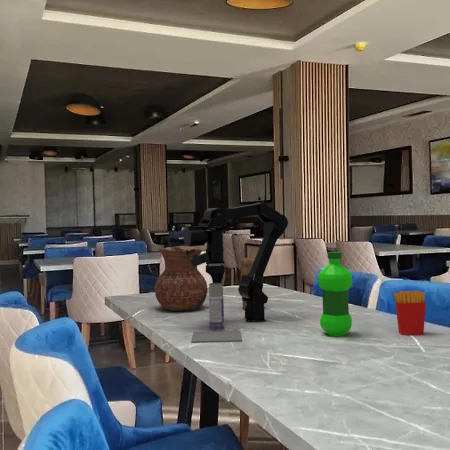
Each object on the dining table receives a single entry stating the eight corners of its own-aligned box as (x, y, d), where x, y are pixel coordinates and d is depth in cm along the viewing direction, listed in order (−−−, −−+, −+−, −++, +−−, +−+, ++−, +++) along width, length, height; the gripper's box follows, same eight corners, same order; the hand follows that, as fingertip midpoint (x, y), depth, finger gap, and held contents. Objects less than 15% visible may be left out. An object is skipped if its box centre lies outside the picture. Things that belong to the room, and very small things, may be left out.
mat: (240, 331, 167) (240, 330, 167) (242, 341, 154) (242, 339, 154) (193, 332, 167) (193, 331, 167) (191, 342, 154) (191, 341, 154)
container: (216, 327, 175) (215, 282, 174) (227, 329, 172) (225, 283, 171) (206, 330, 171) (205, 284, 171) (217, 331, 168) (216, 284, 168)
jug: (215, 310, 206) (213, 246, 205) (163, 315, 198) (161, 249, 198) (197, 302, 226) (195, 244, 226) (149, 306, 219) (147, 246, 218)
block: (262, 310, 204) (261, 258, 204) (243, 310, 204) (241, 259, 203) (259, 305, 215) (257, 256, 215) (240, 306, 215) (239, 257, 214)
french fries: (422, 331, 161) (421, 289, 161) (428, 334, 157) (427, 291, 157) (392, 332, 161) (392, 290, 161) (397, 335, 157) (397, 292, 156)
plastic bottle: (340, 329, 167) (338, 250, 167) (360, 335, 158) (358, 252, 157) (313, 332, 164) (311, 252, 163) (331, 339, 154) (329, 254, 153)
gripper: (192, 244, 187) (193, 288, 187) (189, 247, 168) (190, 296, 169) (224, 243, 187) (225, 287, 187) (224, 246, 168) (225, 295, 169)
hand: (216, 291), depth 178 cm, fingers closed
